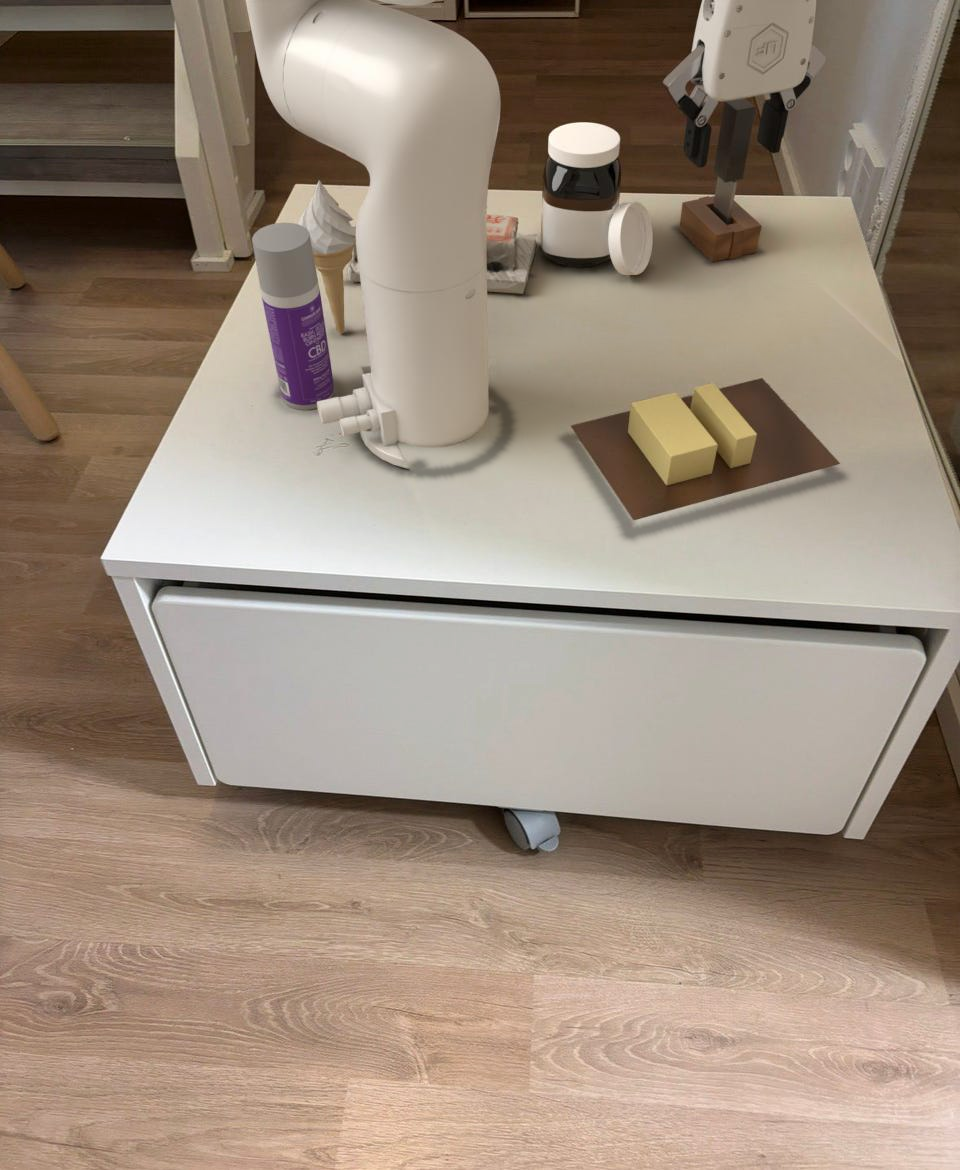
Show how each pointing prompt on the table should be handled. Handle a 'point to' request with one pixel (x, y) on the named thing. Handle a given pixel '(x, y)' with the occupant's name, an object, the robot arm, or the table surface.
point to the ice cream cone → (330, 246)
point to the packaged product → (495, 255)
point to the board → (774, 458)
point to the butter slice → (724, 425)
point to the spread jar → (590, 203)
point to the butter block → (672, 438)
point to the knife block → (719, 230)
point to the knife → (731, 154)
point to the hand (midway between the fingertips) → (731, 153)
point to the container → (294, 314)
